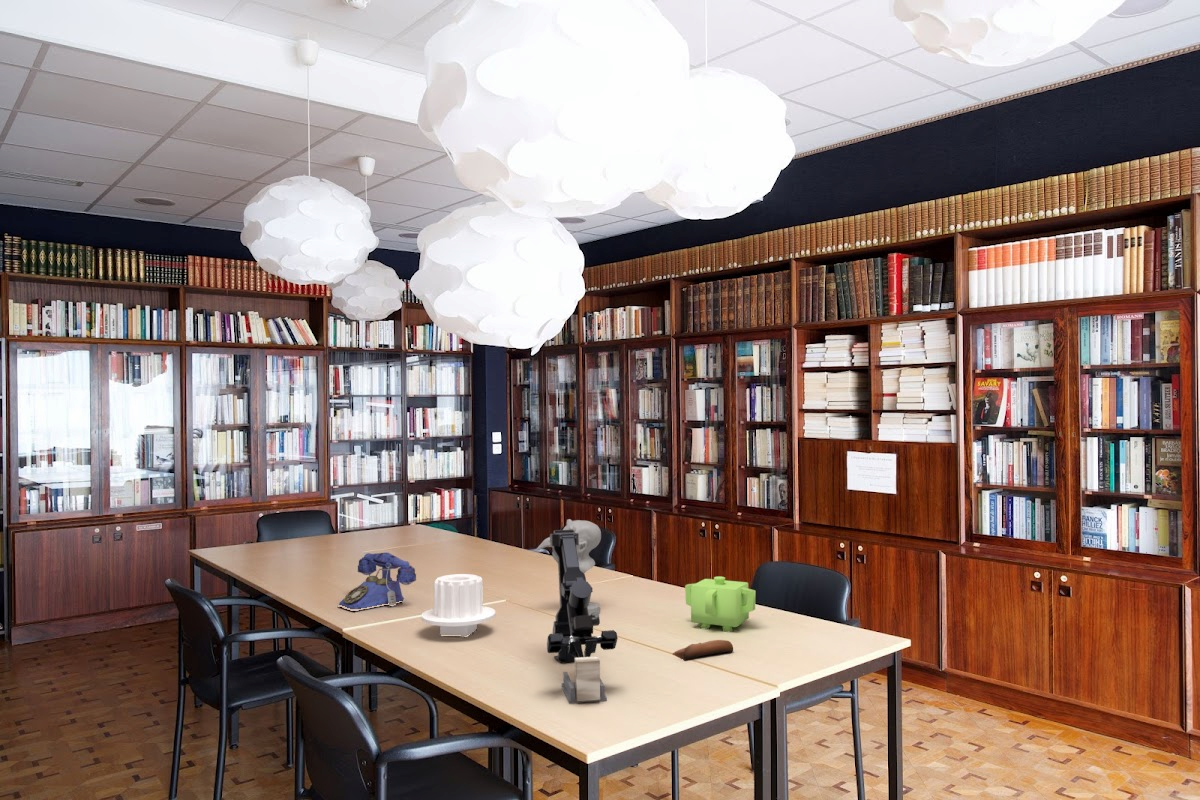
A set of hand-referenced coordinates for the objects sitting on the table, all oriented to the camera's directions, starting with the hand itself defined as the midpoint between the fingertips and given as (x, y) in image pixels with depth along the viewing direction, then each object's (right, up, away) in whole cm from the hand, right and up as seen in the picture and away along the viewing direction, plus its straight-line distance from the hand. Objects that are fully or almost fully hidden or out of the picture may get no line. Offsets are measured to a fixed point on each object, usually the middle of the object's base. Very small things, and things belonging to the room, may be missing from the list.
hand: (585, 670), depth 219 cm
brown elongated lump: (+36, -8, +39) cm, 54 cm away
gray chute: (-1, -7, +4) cm, 8 cm away
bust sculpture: (-6, -9, +93) cm, 93 cm away
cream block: (+1, -6, -2) cm, 7 cm away
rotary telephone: (-88, -10, +112) cm, 143 cm away
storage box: (+46, -8, +72) cm, 86 cm away
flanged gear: (-45, -9, +67) cm, 81 cm away
